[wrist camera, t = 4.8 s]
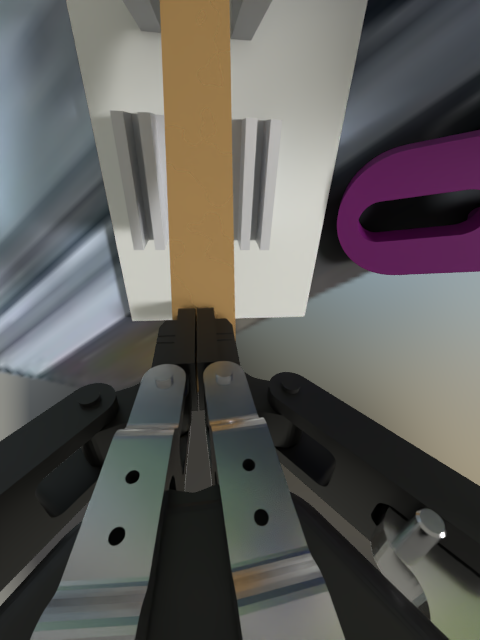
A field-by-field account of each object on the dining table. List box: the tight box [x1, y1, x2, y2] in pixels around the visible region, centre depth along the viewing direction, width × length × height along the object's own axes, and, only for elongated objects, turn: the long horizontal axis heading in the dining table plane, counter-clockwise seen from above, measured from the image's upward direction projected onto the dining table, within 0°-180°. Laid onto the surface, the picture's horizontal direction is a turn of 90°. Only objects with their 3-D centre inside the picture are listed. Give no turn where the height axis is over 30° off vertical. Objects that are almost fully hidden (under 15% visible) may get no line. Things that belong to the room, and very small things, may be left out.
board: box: [66, 0, 368, 321], centre depth 18 cm, size 17×26×8 cm, turn 178°
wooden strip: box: [160, 0, 236, 392], centre depth 13 cm, size 19×3×1 cm, turn 177°
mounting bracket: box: [337, 130, 480, 275], centre depth 23 cm, size 9×8×18 cm
